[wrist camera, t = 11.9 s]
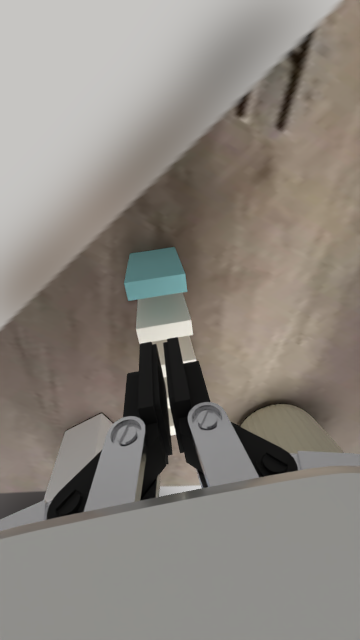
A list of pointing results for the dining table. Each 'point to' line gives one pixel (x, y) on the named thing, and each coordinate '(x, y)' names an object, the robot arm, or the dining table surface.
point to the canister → (290, 429)
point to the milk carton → (77, 452)
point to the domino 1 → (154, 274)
